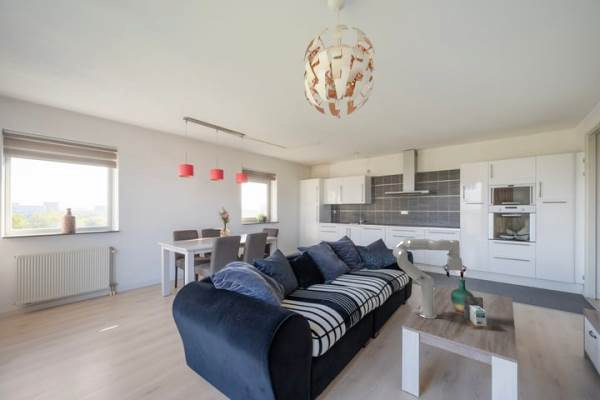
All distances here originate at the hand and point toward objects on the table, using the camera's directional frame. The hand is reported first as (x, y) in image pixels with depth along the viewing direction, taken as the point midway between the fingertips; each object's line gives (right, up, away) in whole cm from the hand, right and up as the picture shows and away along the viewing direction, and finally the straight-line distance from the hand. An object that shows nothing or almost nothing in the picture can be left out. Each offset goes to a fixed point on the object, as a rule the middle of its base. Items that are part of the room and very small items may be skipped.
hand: (454, 277), depth 200 cm
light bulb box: (+5, -28, -19) cm, 34 cm away
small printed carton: (+5, -29, -19) cm, 35 cm away
